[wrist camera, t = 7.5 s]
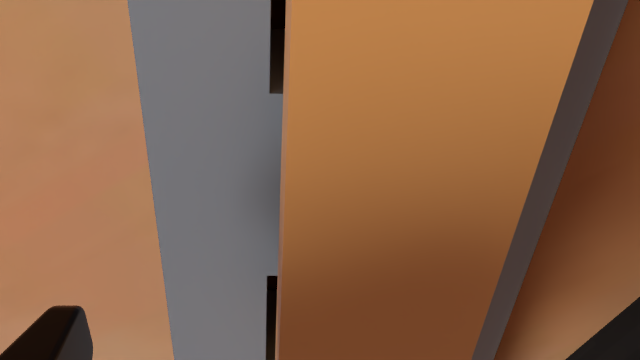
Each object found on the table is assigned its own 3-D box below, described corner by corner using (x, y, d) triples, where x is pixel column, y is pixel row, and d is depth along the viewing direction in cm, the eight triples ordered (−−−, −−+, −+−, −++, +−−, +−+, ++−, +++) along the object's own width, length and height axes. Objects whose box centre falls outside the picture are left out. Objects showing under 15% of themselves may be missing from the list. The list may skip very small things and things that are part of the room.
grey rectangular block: (429, 392, 21) (449, 476, 18) (201, 396, 20) (190, 484, 17) (709, -581, 8) (904, -737, 5) (102, -665, 7) (12, -885, 5)
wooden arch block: (371, 304, 18) (411, 533, 12) (273, 304, 17) (272, 538, 12) (457, -203, 10) (649, -166, 5) (287, -216, 10) (299, -190, 5)
